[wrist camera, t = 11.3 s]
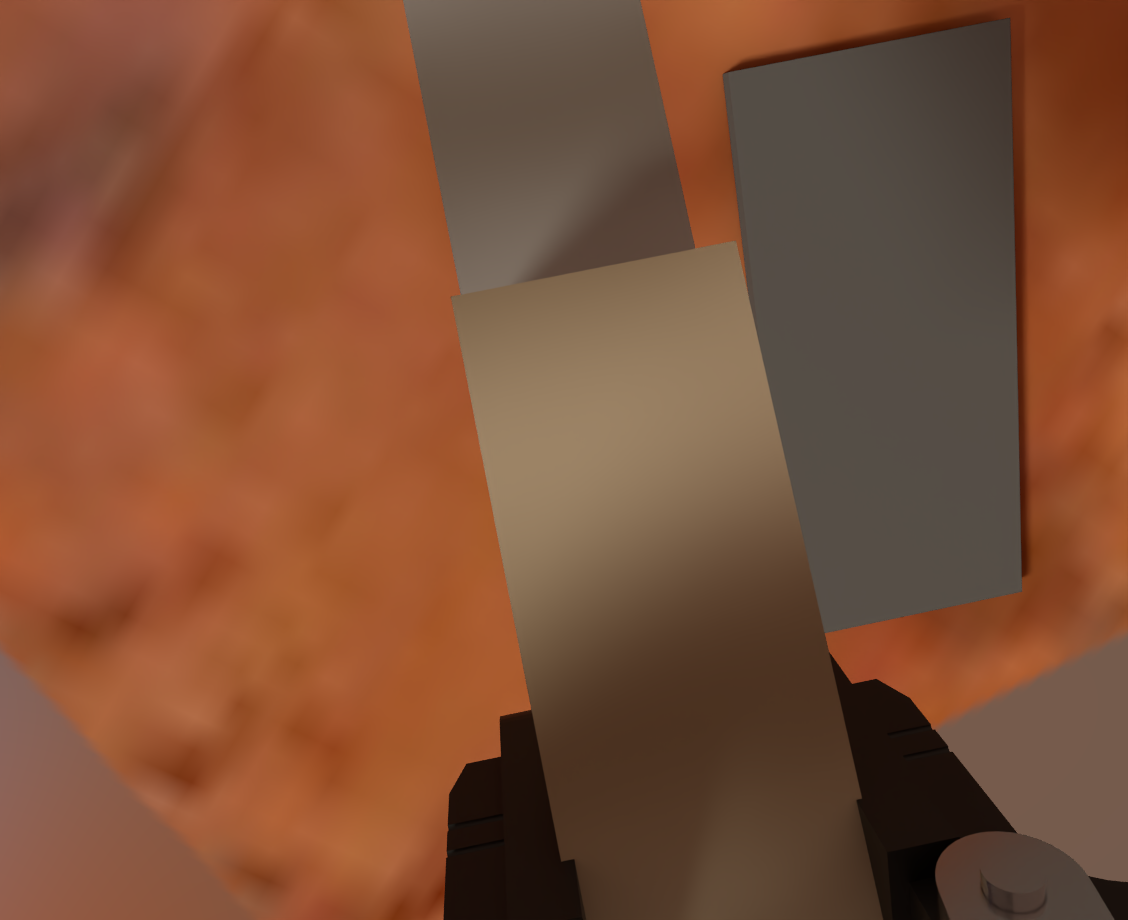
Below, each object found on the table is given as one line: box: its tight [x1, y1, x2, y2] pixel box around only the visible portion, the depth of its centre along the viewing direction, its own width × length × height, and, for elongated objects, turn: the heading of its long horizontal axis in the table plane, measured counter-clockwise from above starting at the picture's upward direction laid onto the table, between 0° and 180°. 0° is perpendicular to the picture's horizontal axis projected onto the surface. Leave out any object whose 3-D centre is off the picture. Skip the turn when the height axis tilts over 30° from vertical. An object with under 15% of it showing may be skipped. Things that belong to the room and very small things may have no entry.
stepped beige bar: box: [403, 0, 883, 920], centre depth 12 cm, size 15×3×5 cm, turn 11°
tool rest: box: [723, 18, 1022, 633], centre depth 28 cm, size 8×18×1 cm, turn 10°
